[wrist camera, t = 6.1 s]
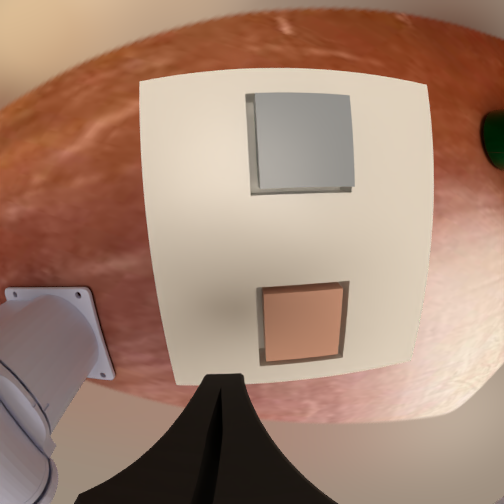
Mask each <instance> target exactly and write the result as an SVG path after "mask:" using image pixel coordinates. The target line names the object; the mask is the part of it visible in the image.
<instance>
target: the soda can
mask: <svg viewBox="0 0 504 504" xmlns="http://www.w3.org/2000/svg"><path fill="white" fill-rule="evenodd" d="M483 141H484V146H485V149H486V152H487V154H488V156H489V158H490V159H491V161H492V162H493V163H494V165H495V166H496V167H497V168H499V169H500V170H503V171H504V109H501V110H494V111H491V112H490V113H489V114H488V116H487V117H486V120H485V122H484V126H483Z"/></svg>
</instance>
